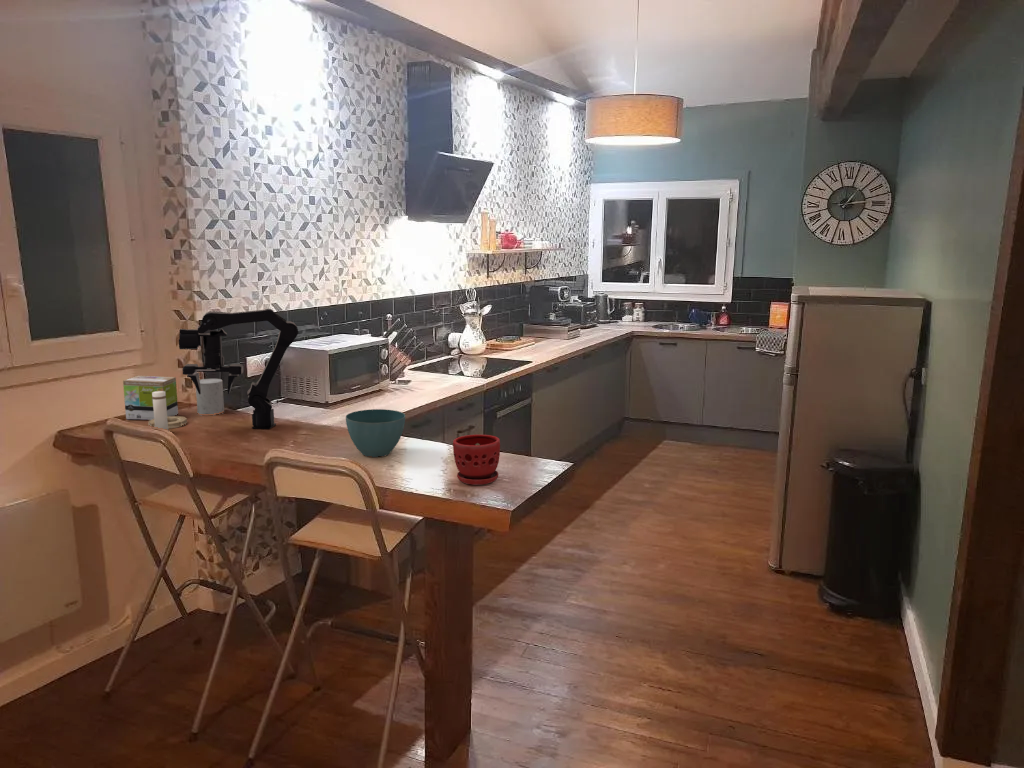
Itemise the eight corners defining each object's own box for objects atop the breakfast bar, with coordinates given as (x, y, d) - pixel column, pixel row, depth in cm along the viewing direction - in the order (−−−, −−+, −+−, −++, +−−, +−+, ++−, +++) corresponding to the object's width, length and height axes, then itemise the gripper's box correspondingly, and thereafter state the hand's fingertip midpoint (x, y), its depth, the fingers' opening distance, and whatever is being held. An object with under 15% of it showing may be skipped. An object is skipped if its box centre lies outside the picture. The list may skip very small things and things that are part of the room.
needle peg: (170, 431, 253) (167, 391, 250) (164, 434, 249) (161, 393, 246) (159, 430, 253) (156, 390, 250) (152, 433, 249) (149, 393, 246)
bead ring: (192, 421, 267) (192, 416, 266) (175, 429, 255) (175, 424, 255) (160, 419, 267) (160, 415, 267) (142, 428, 256) (142, 423, 255)
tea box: (125, 420, 267) (121, 380, 264) (140, 413, 276) (136, 375, 273) (166, 421, 266) (162, 381, 263) (179, 414, 276) (176, 375, 273)
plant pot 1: (380, 442, 243) (379, 406, 241) (417, 453, 232) (417, 415, 229) (334, 453, 230) (333, 415, 227) (372, 466, 218) (371, 426, 216)
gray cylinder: (208, 417, 273) (206, 384, 271) (191, 413, 278) (189, 381, 275) (229, 412, 281) (228, 380, 279) (213, 408, 286) (211, 377, 283)
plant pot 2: (499, 472, 214) (499, 433, 211) (500, 488, 201) (500, 445, 198) (454, 472, 213) (454, 432, 211) (452, 487, 200) (452, 445, 198)
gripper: (244, 345, 259) (246, 389, 262) (188, 345, 255) (190, 389, 258) (240, 350, 249) (241, 395, 252) (181, 350, 245) (183, 396, 248)
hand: (214, 394), depth 252 cm, fingers open, 9 cm apart
